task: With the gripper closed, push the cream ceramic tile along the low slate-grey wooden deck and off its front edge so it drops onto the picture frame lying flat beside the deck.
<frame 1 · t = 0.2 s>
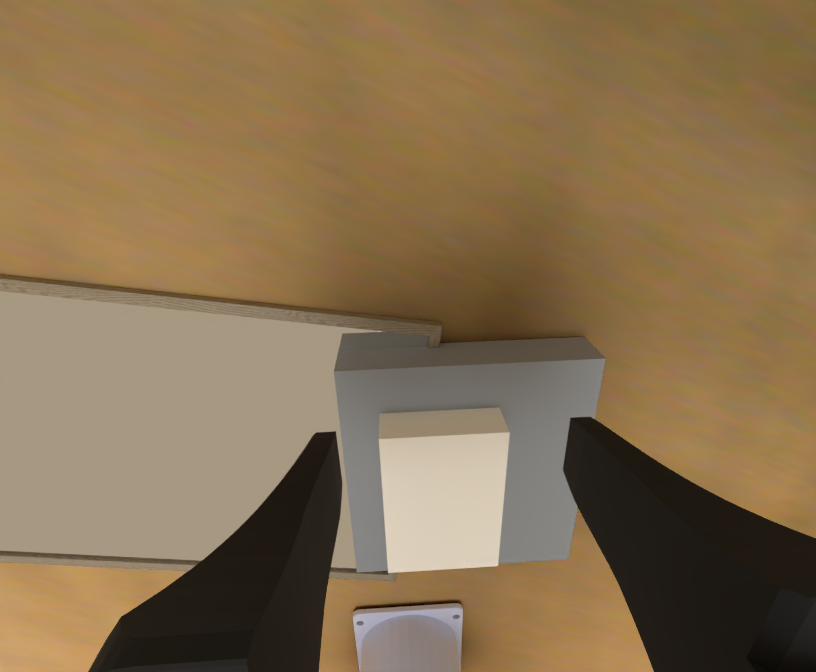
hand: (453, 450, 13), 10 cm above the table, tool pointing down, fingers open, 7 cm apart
tile: (439, 479, 23), point 2 cm above the table, touching deck
deck: (459, 447, 26), on the table
picture frame: (179, 441, 25), on the table
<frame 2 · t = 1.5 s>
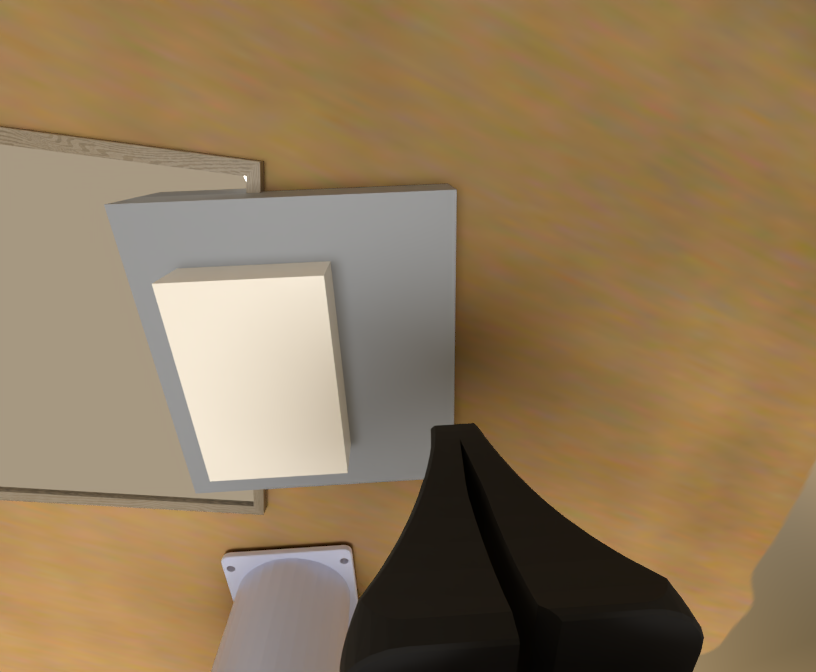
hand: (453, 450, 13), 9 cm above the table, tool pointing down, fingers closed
tile: (272, 365, 19), point 2 cm above the table, touching deck
deck: (315, 339, 21), on the table
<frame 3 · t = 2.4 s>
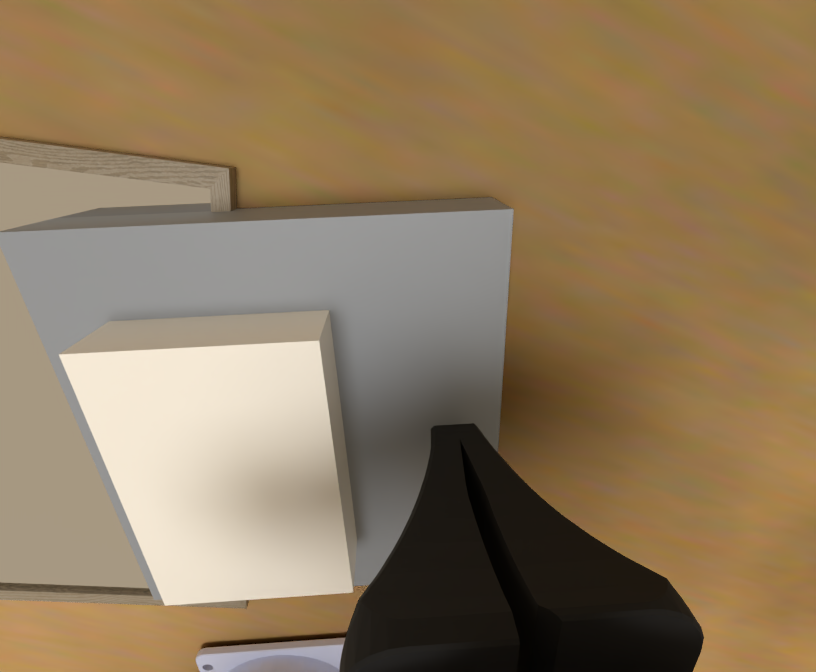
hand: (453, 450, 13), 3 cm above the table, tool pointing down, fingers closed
tile: (250, 446, 14), point 2 cm above the table, touching deck
deck: (310, 400, 16), on the table
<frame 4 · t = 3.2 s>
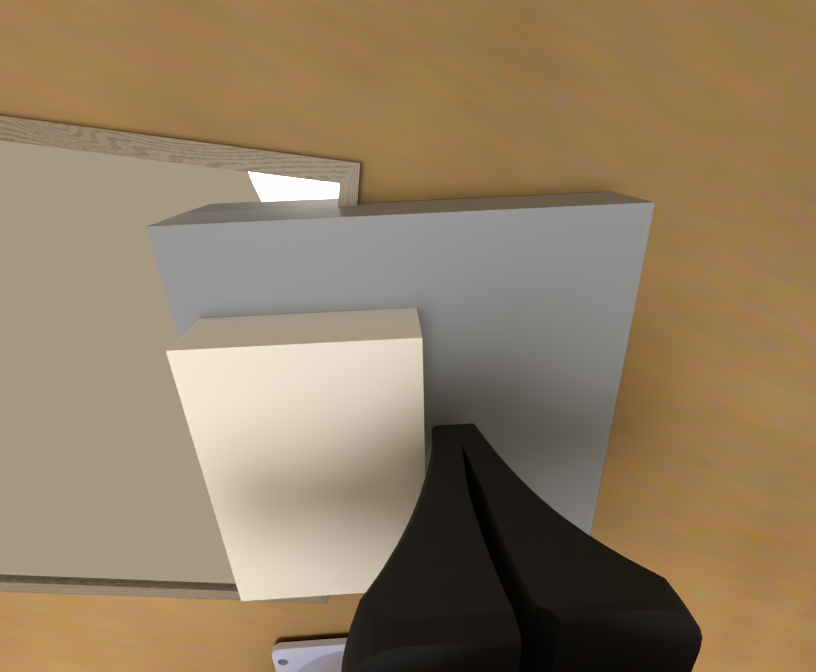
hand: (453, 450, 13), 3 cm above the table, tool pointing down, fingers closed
tile: (327, 443, 14), point 3 cm above the table, touching deck, gripper
deck: (409, 394, 16), on the table
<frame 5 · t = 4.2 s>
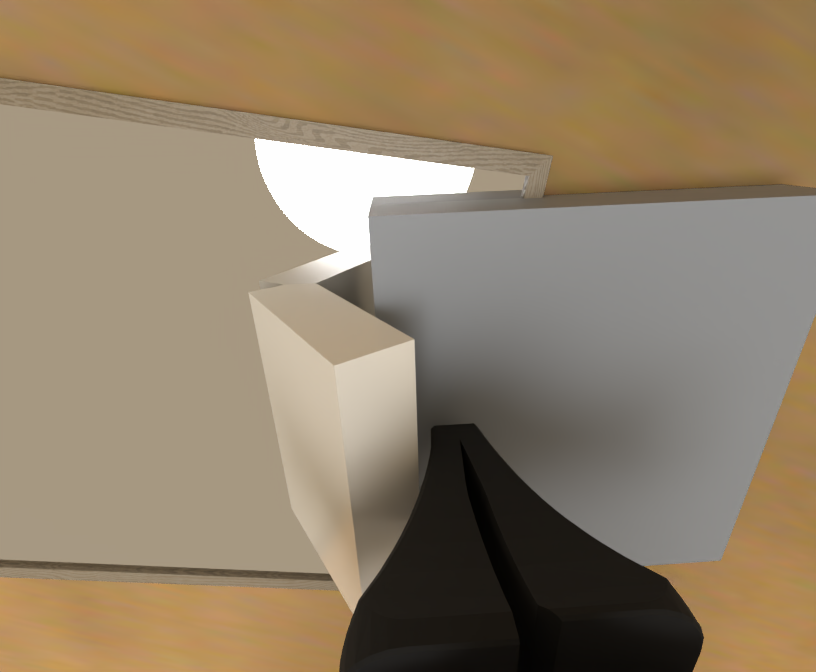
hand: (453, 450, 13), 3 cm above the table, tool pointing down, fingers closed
tile: (364, 434, 14), point 2 cm above the table, tilted 58°
deck: (555, 386, 16), on the table
picture frame: (115, 380, 16), on the table
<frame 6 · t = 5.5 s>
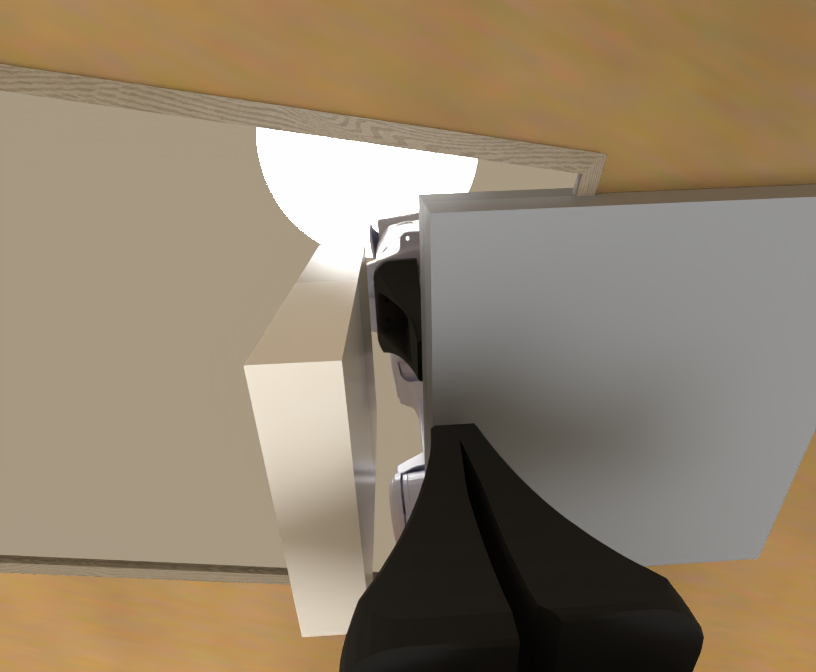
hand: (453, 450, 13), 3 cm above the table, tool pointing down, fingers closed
tile: (364, 443, 13), point 3 cm above the table, tilted 90°
deck: (596, 384, 16), on the table
picture frame: (157, 376, 16), on the table
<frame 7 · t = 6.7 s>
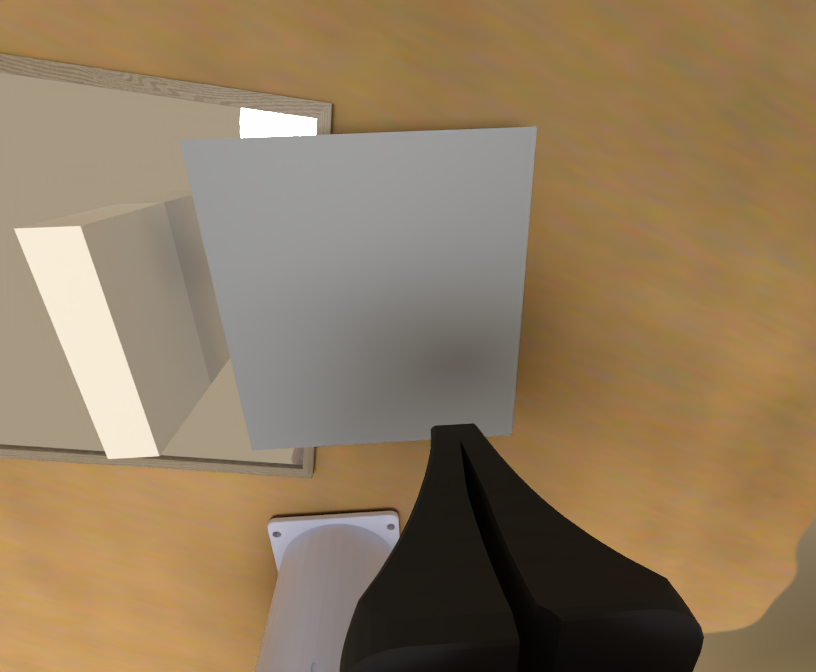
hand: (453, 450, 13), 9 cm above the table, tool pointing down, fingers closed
tile: (164, 322, 18), point 3 cm above the table, tilted 90°
deck: (374, 293, 21), on the table
picture frame: (28, 286, 21), on the table
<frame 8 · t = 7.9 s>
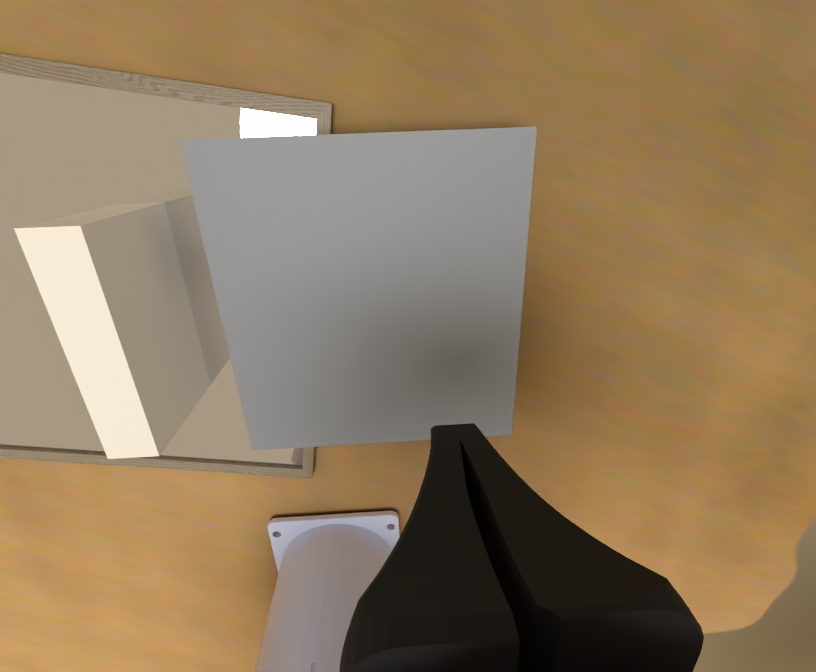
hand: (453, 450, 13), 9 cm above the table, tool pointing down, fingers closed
tile: (164, 322, 18), point 3 cm above the table, tilted 90°
deck: (374, 293, 21), on the table
picture frame: (27, 286, 21), on the table
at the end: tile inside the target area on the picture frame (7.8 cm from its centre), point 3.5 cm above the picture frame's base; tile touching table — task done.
